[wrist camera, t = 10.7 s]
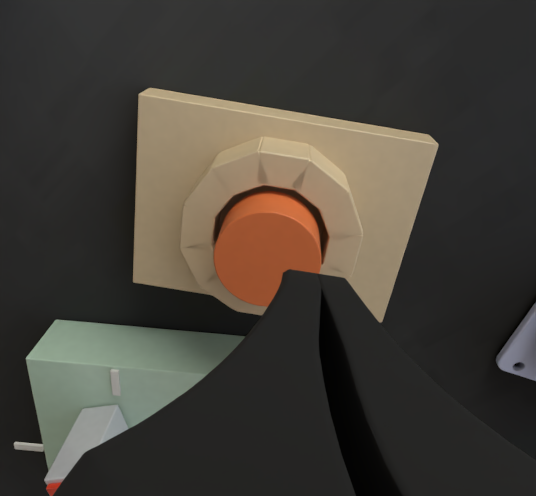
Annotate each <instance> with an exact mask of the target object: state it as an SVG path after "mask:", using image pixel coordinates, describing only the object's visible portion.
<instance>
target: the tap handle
mask: <svg viewBox="0 0 536 496" xmlns="http://www.w3.org/2000/svg"><path fill="white" fill-rule="evenodd" d="M127 429H129V428H128V426H127V424H126V421H125V419H124V417H123V415H122V412H121V410H120V408H119V406H118V405H108V406H100V407H91V408H83V409H82V410H81V412H80V414H79V416H78V417H77V419H76V421H75V423H74V425H73V427H72V429H71V430H70V432H69V434H68V436H67V438H66V440H65V442H64V444H63V445H62V447H61V449H60V451H59V453H58V455H57V457H56V458H55V460H54V462H53V464H52V466H51V468H50V470H49V471H48V473H47V475H46V477H45V479H44V481H45V483H46V484H47V488H46V490H47V491H48V493H49V495H50V496H53V494H54V493H55V491H56V490H57V489H58V487H59V486H60V484H61V483H62V481H63V480H64V479H65V477H66V476H67V475H68V473H69V472H70V471H71V469H72V468H73V467H74V465H75V464H76V463H77V461H78V460H79V459H80V458H81V456H82V455H83V454H84V453H85V452H86V451H88V450H90V449H92V448H94V447H96V446H98V445H100V444H102V443H104V442H106V441H107V440H109V439H111V438H113V437H115V436H116V435H118V434H120V433H122V432H124V431H126V430H127Z"/></svg>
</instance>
